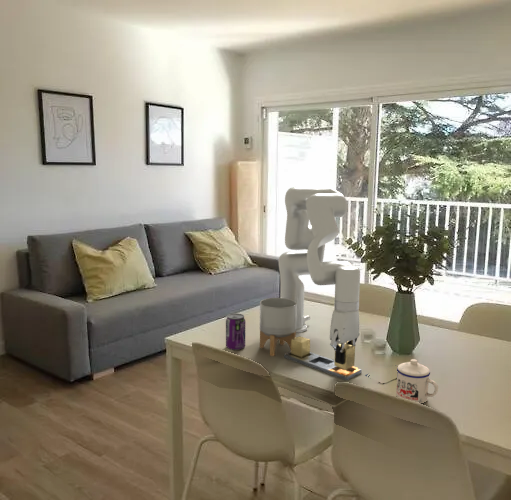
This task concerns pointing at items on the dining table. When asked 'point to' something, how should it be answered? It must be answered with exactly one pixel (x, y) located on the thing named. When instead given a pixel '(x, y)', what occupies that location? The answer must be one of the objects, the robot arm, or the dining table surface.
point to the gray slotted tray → (325, 365)
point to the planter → (277, 322)
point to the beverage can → (235, 331)
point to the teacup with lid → (414, 382)
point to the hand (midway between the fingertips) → (344, 360)
